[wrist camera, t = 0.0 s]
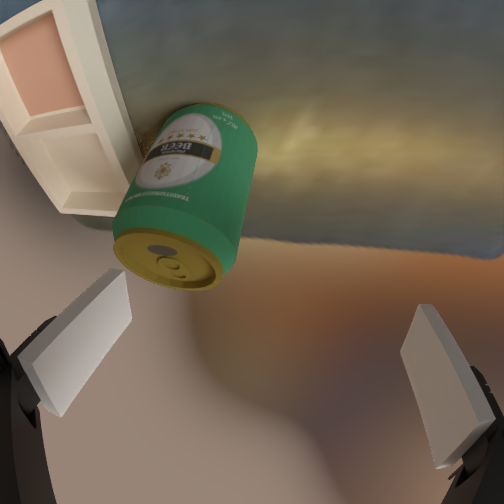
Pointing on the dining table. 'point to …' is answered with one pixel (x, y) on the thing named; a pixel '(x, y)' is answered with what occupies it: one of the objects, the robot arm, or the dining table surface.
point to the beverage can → (188, 199)
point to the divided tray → (67, 106)
